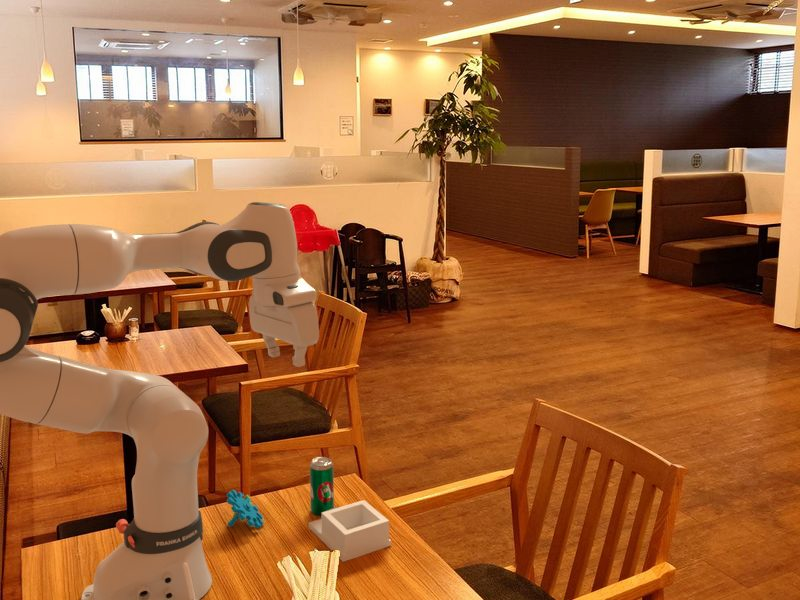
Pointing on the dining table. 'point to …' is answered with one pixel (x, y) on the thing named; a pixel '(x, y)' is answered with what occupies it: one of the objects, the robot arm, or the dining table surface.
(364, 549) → the box
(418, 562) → the dining table surface
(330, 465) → the soda can
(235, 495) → the teal lobed piece
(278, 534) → the dining table surface
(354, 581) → the dining table surface
